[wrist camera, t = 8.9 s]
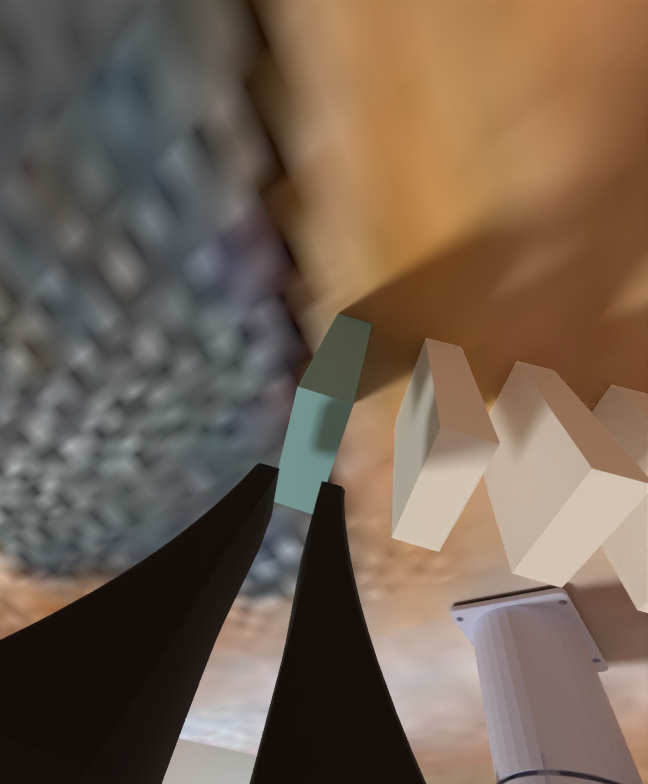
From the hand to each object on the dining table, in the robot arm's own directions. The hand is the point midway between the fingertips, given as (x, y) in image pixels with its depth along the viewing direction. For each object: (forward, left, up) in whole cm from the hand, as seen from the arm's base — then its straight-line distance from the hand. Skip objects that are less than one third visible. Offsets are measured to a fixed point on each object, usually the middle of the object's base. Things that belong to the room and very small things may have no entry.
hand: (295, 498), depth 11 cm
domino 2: (-3, -3, -10) cm, 11 cm away
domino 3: (-6, -6, -10) cm, 13 cm away
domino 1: (0, 0, -10) cm, 10 cm away
